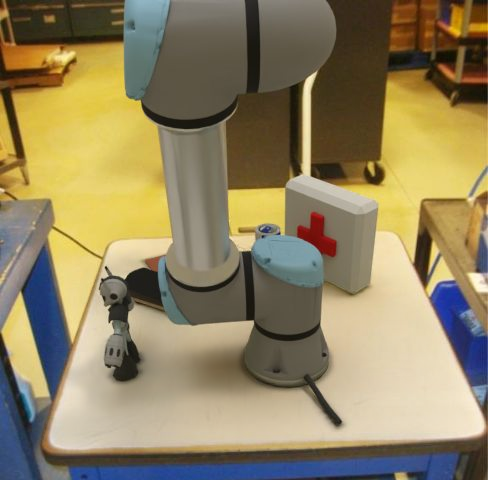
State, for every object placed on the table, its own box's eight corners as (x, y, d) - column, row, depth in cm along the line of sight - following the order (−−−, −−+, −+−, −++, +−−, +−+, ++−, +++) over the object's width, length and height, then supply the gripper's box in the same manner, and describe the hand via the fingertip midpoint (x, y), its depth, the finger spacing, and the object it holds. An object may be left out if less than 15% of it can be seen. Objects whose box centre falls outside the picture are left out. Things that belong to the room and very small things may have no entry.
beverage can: (273, 300, 128) (273, 235, 119) (252, 294, 130) (250, 230, 121) (284, 288, 132) (285, 225, 123) (263, 283, 134) (262, 220, 125)
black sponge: (202, 298, 129) (201, 283, 127) (178, 318, 124) (177, 303, 121) (141, 279, 136) (139, 265, 134) (116, 297, 131) (113, 283, 128)
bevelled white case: (277, 264, 140) (278, 181, 128) (301, 252, 144) (304, 170, 133) (349, 300, 127) (357, 212, 115) (373, 286, 131) (383, 199, 120)
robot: (134, 402, 104) (117, 304, 92) (105, 404, 104) (84, 305, 92) (146, 334, 120) (132, 242, 108) (121, 334, 120) (105, 243, 108)
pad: (235, 254, 144) (235, 253, 144) (155, 275, 138) (155, 274, 137) (222, 241, 150) (222, 240, 150) (144, 260, 143) (144, 259, 143)
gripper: (226, 81, 113) (231, 202, 126) (198, 68, 122) (206, 181, 136) (189, 87, 110) (198, 209, 123) (163, 73, 120) (174, 188, 133)
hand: (202, 194), depth 130 cm, fingers closed
